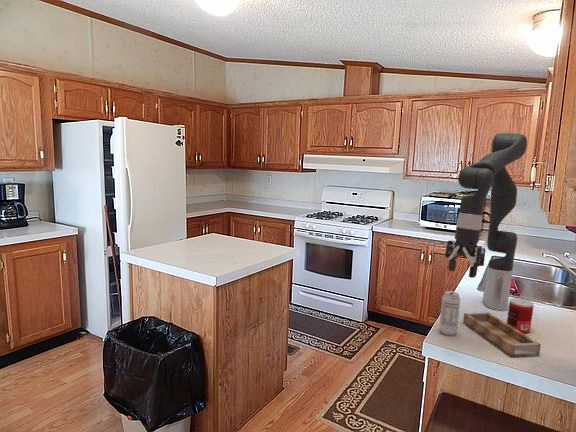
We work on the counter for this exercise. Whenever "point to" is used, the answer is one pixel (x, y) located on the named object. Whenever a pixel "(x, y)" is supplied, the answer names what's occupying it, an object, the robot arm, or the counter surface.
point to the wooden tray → (502, 335)
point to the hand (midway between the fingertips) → (461, 274)
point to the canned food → (520, 314)
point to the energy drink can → (449, 313)
